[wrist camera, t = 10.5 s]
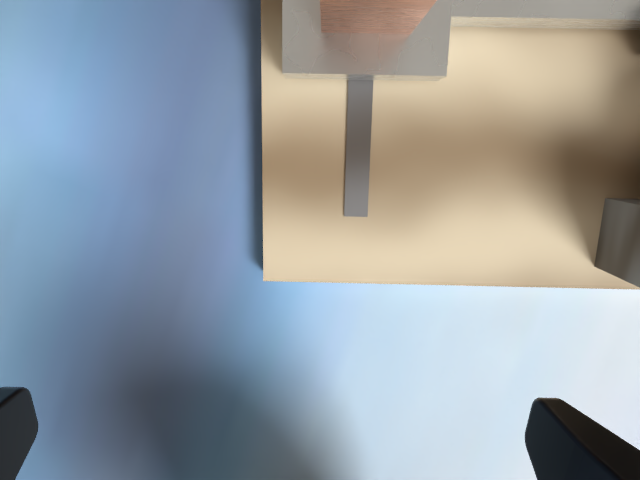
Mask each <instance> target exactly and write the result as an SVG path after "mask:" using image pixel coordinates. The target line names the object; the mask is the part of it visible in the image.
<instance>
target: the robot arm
mask: <svg viewBox="0 0 640 480" xmlns="http://www.w3.org/2000/svg"><path fill="white" fill-rule="evenodd" d="M37 432H38V421H37V417H36V413H35V409H34V405H33V401H32V397H31V394H30V392H29V390H28V389H27V388H24V387H1V388H0V480H15V478H16V476H17V474H18V472H19V470H20V468H21V466H22V464H23V462H24V460H25V458H26V456H27V454H28V452H29V450H30V448H31V446H32V444H33V442H34V440H35V438H36V435H37ZM525 443H526V448H527V451H528V454H529V457H530V460H531V463H532V465H533V468H534V471H535V474H536V477H537V480H640V450H638V449H637V448H635V447H634V446H632V445H631V444H629V443H628V442H626V441H625V440H623V439H621V438H620V437H618V436H617V435H615V434H614V433H612V432H611V431H609V430H608V429H606V428H605V427H603V426H601V425H600V424H598V423H597V422H595V421H594V420H592V419H591V418H589V417H588V416H586V415H584V414H583V413H581V412H580V411H578V410H577V409H575V408H574V407H572V406H571V405H569V404H568V403H566V402H564V401H563V400H561V399H558V398H537V399H535V400H534V401H533V403H532V407H531V411H530V415H529V419H528V423H527V427H526V431H525Z"/></svg>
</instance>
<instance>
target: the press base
mask: <svg viewBox="0 0 640 480" xmlns="http://www.w3.org/2000/svg"><path fill="white" fill-rule="evenodd" d="M261 75H262V184H263V281H287V282H332V283H376V284H421V285H466V286H511V287H556V288H601V289H640V30H612V29H554V28H495V27H450V39H449V52H448V65H447V76H446V77H444V78H442V79H440V80H439V81H397V80H342V79H288V78H285V77H284V75H283V74H282V0H261Z"/></svg>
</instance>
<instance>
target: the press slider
mask: <svg viewBox="0 0 640 480" xmlns="http://www.w3.org/2000/svg"><path fill="white" fill-rule="evenodd" d="M450 27H495V28H554V29H612V30H640V0H282V74H283V75H284V77H285V78H288V79H342V80H397V81H439V80H440V79H442V78H444V77H446V76H447V65H448V52H449V39H450Z"/></svg>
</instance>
